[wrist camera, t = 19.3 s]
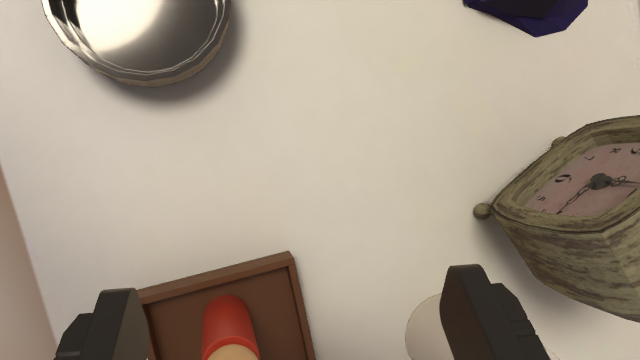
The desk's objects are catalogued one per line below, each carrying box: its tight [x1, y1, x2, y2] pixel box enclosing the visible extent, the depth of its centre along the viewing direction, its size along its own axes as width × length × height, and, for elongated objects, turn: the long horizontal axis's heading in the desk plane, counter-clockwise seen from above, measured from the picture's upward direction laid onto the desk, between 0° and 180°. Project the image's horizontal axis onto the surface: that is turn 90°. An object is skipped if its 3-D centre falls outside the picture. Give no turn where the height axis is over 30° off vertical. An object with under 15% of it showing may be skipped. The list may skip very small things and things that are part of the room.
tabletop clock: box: [474, 115, 640, 323], centre depth 36 cm, size 14×9×25 cm, turn 126°
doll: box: [201, 295, 260, 360], centre depth 35 cm, size 4×4×12 cm
